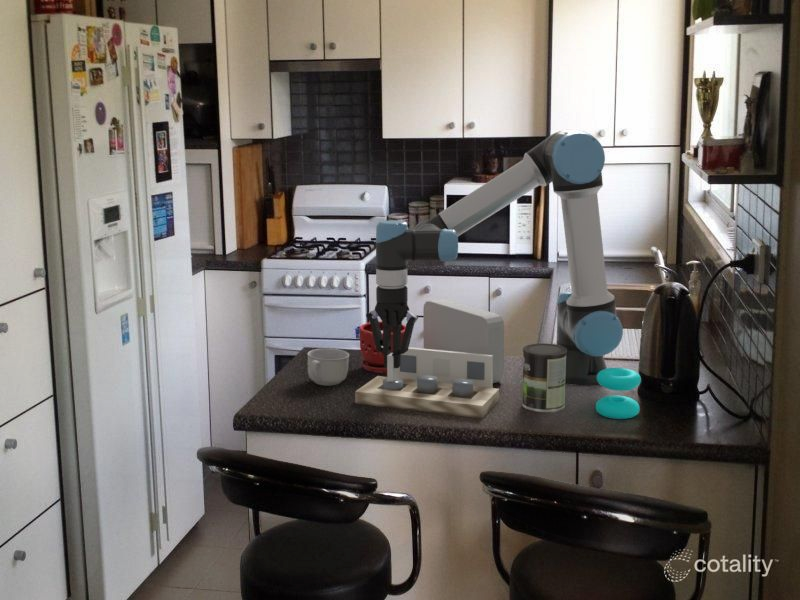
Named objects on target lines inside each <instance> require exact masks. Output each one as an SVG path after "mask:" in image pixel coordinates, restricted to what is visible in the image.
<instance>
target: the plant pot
mask: <svg viewBox="0 0 800 600" xmlns="http://www.w3.org/2000/svg"><path fill="white" fill-rule="evenodd" d="M379 325H380V329H381V334H382V338H383V327H382V320H381V321H379ZM405 327H406V324H405V325H404V324H403V323H402V326H401V344H402V340H403V336H404V331H405ZM358 331H359V334H358V338H359V347H360V352H361V356H362V357H363V359H362V360H361V362H360V363H361V366H362V367H363V368H364V370H366V371H369V372H371V373H376V372H378V373H379V374H387V367H384V354H383V353H382V352H380V351H379V352H378V351H377V350H376V346H375V342H374V338H373V333H372V329H371V325H370V322H365V323H363V324H361V325H360V326H359V330H358ZM391 350H392V351H391V353H393V328H392V326H391ZM378 373H377V374H378Z"/></svg>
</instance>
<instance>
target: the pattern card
mask: <svg viewBox="0 0 800 600" xmlns="http://www.w3.org/2000/svg"><path fill="white" fill-rule="evenodd" d="M400 358H401V362H400V363H401V365H400V367H399V368H397V378H402V379H411V380H417V377H419V376H423V375H431V376H436V377H437V378H438V382H440V383H449V384H452V381H454V380H457V379H469V380H472V381H473V386H477V387H487V388H494V386H493V384H494V383H493V355H486V354H475V353H465V352H454V351H443V350H433V349H424V348H420V347H410V346H409V348H408V351H407V352H405V353H404V354H401V356H400Z"/></svg>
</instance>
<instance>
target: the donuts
mask: <svg viewBox="0 0 800 600" xmlns="http://www.w3.org/2000/svg"><path fill="white" fill-rule="evenodd" d="M597 381H598V383H599V384H598V385H599V386H601V387H603V388H605V389H607V390H611V391H619V392H620V391H621V392H622V391H623V392H624V391H625V392H626V391H631V390H633V389H636V388H637V387H639V385H640V384H641V383H642V378H641V375H640V374H639V373H638V372H637V371H636V370H632V369H630V368H629V369H628V368H623V367H607V369H604V370H601V371H600V372H599V373H598V374H597ZM595 410H596V412H597V413H598V414H599V415H601V416H603V417H605V418H609V419H615V420H617V419H618V420H625V419H626V420H627V419H631V418H635V417H636V416H637V415H638V414H639V413H640V411H641V408H640V404H639V403H638V402H637V401H636V400H635V399H633V398H631V397H629V396H624V395H618V394H617V395H616V394H615V395H611V394H610V395H605V396H603V397H600V398H599V399H598V400H597V402H596V404H595Z"/></svg>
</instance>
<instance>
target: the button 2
mask: <svg viewBox="0 0 800 600" xmlns="http://www.w3.org/2000/svg"><path fill="white" fill-rule="evenodd" d="M452 394H453V395H454V396H456V397H470V396H472V395H473V381H472V380H469V379H457V380H454V381H452Z"/></svg>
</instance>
